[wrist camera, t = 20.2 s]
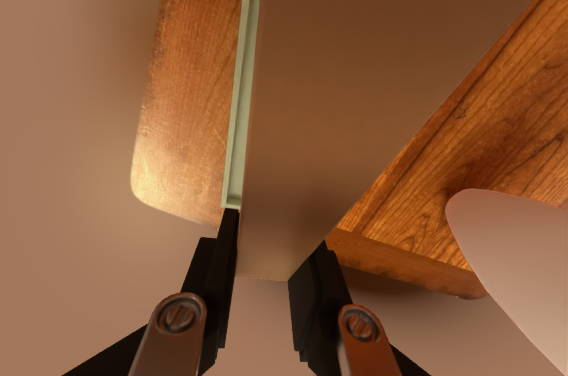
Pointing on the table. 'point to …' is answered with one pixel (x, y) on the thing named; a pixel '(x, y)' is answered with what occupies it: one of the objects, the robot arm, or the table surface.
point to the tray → (240, 106)
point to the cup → (518, 261)
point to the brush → (343, 108)
